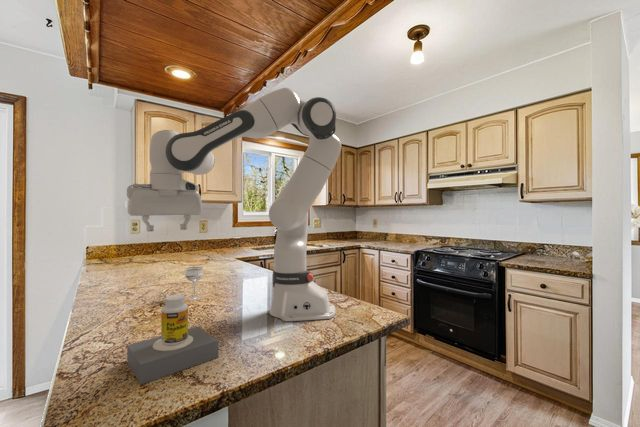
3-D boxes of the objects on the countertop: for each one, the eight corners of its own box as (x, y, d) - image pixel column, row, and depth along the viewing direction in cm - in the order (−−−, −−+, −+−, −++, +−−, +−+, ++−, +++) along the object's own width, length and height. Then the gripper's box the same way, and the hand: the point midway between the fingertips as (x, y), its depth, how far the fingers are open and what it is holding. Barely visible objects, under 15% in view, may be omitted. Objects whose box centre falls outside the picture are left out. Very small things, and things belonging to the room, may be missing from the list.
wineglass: (197, 301, 114) (197, 270, 114) (181, 300, 115) (181, 269, 115) (206, 296, 121) (206, 266, 121) (191, 295, 122) (191, 266, 122)
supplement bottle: (162, 348, 65) (162, 302, 65) (160, 339, 70) (160, 296, 70) (190, 342, 68) (190, 298, 68) (185, 334, 73) (185, 292, 73)
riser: (198, 341, 79) (198, 325, 79) (218, 357, 70) (218, 339, 70) (127, 362, 68) (127, 344, 68) (140, 384, 59) (140, 363, 59)
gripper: (129, 182, 81) (130, 232, 81) (203, 185, 95) (204, 229, 95) (124, 184, 86) (125, 232, 86) (196, 187, 100) (196, 228, 100)
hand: (167, 230), depth 90 cm, fingers open, 8 cm apart
